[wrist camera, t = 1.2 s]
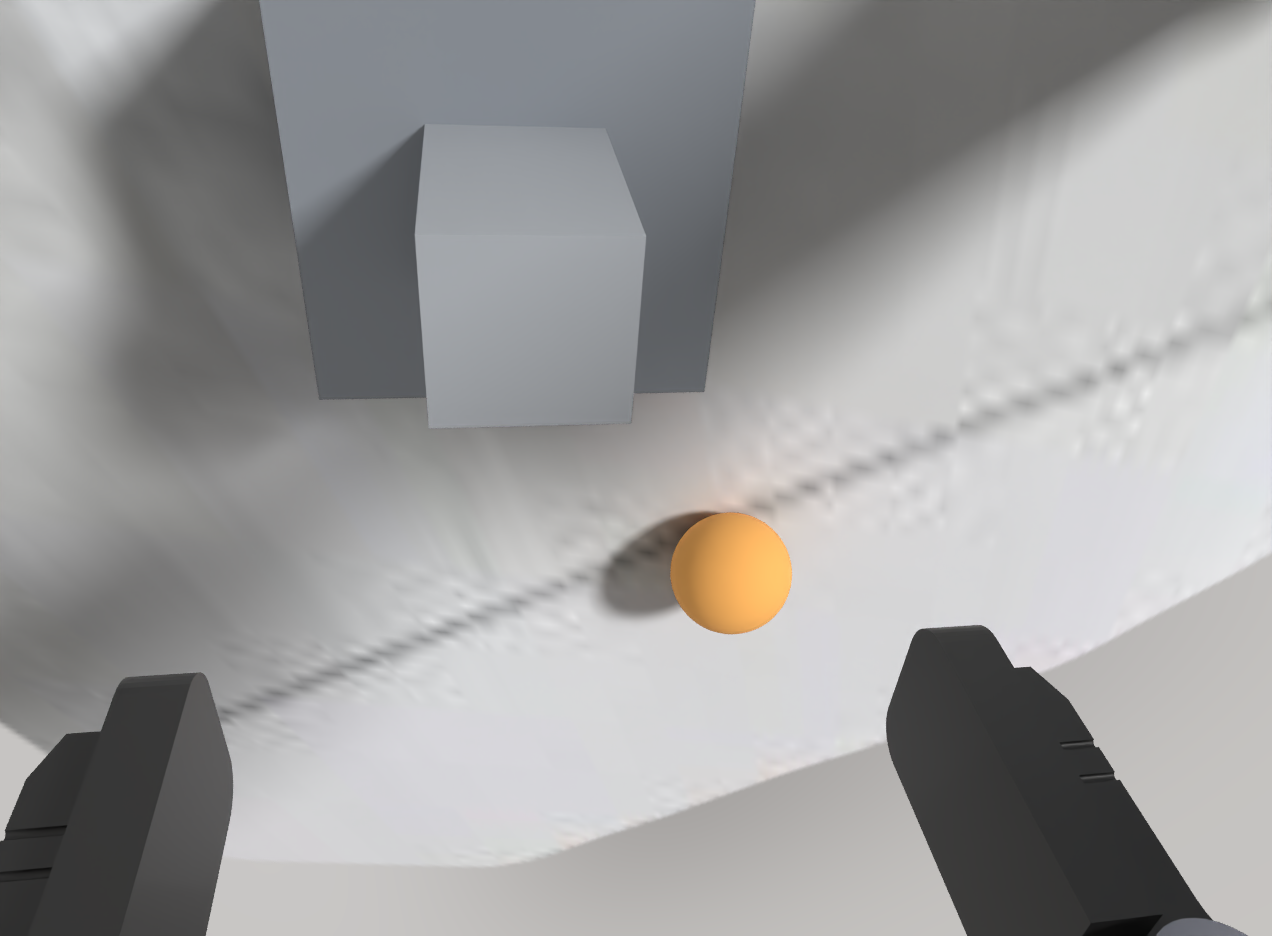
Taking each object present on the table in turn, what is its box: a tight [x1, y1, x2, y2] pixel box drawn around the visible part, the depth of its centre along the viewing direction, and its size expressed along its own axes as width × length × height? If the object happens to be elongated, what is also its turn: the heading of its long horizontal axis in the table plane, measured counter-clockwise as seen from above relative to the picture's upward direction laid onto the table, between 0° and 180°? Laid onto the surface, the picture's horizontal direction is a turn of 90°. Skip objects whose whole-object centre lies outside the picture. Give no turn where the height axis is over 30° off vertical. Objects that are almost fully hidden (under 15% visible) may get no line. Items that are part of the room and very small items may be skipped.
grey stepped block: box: [259, 0, 755, 429], centre depth 24 cm, size 10×10×15 cm
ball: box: [670, 513, 792, 634], centre depth 40 cm, size 5×5×5 cm
